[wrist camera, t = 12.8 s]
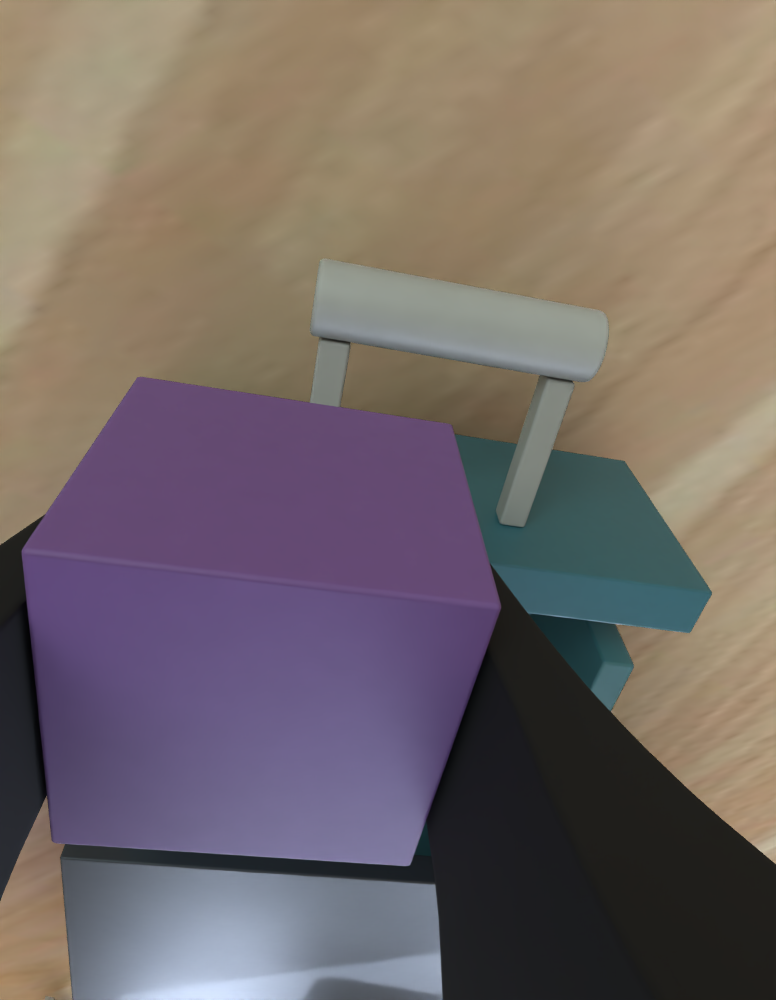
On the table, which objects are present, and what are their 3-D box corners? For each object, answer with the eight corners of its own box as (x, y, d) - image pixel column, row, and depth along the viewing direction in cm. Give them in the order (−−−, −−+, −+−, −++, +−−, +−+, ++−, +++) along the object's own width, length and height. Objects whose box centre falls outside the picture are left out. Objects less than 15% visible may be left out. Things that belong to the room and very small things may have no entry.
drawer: (161, 182, 16) (72, 241, 11) (697, 288, 17) (833, 380, 12) (148, 733, 25) (98, 898, 20) (495, 766, 27) (527, 924, 22)
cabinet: (138, 643, 24) (59, 857, 18) (532, 686, 26) (591, 894, 19) (135, 880, 32) (79, 1091, 25) (441, 900, 33) (461, 1101, 27)
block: (136, 618, 12) (49, 845, 8) (136, 373, 10) (18, 549, 6) (394, 646, 12) (410, 868, 9) (453, 423, 10) (504, 606, 7)
